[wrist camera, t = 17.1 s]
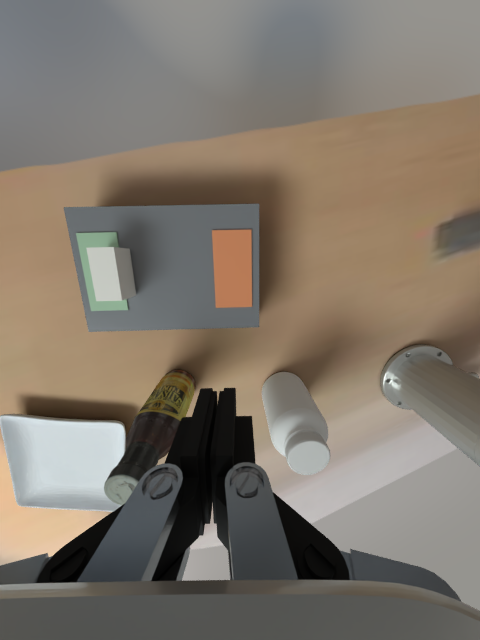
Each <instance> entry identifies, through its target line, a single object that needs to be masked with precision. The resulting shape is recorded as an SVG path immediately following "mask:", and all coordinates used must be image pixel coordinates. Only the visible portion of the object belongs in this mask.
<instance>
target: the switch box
mask: <svg viewBox="0 0 480 640" xmlns="http://www.w3.org/2000/svg"><path fill="white" fill-rule="evenodd" d="M64 211H65V216H66V221H67V226H68V231H69V236H70V241H71V246H72V251H73V256H74V261H75V266H76V271H77V276H78V281H79V286H80V291H81V296H82V301H83V305H84V310H85V315H86V320H87V325H88V330H89V332H97V331H134V330H171V329H208V328H246V327H259V204H218V205H164V206H110V207H64ZM91 247H118V248H128V249H130V254H131V261H132V268H133V275H134V283H135V290H136V296H133V297H131V298H128V299H125V300H122V301H96V297H95V292H94V287H93V281H92V276H91V271H90V265H89V260H88V254H87V249H86V248H91Z"/></svg>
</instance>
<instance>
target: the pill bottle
mask: <svg viewBox="0 0 480 640" xmlns="http://www.w3.org/2000/svg"><path fill="white" fill-rule="evenodd" d="M262 399H263V404H264V408H265V413H266V417H267V422H268V427H269V431H270V436H271V440H272V443H273V445H274V446H275V448H276V449H277V450H278V451H279V452H280V453H281V454H282V455H283V456H285V457H286V459H287V462H288V465H289V467H290V468H291V469H292V470H293V471H295V472H296V473H299V474H302V475H311V474H315V473H317V472H319V471H321V470H322V469H324V468H325V467H326V465H327V464H328V462H329V459H330V450H329V448H328V446H327V444H326V442H327V438H328V427H327V424H326V421H325V419H324V417H323V416H322V414H321V412H320V411H319V409H318V407H317V405H316V404H315V402H314V400H313V399H312V397H311V395H310V393H309V392H308V390H307V388H306V387H305V385H304V383H303V382H302V380H301V379H300V378H299V377H298V376H296V375H295V374H293V373H290V372H279V373H276V374H273V375H272V376H270V377H269V378H268V379H267V380H266V381H265V383H264V385H263V388H262Z"/></svg>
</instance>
